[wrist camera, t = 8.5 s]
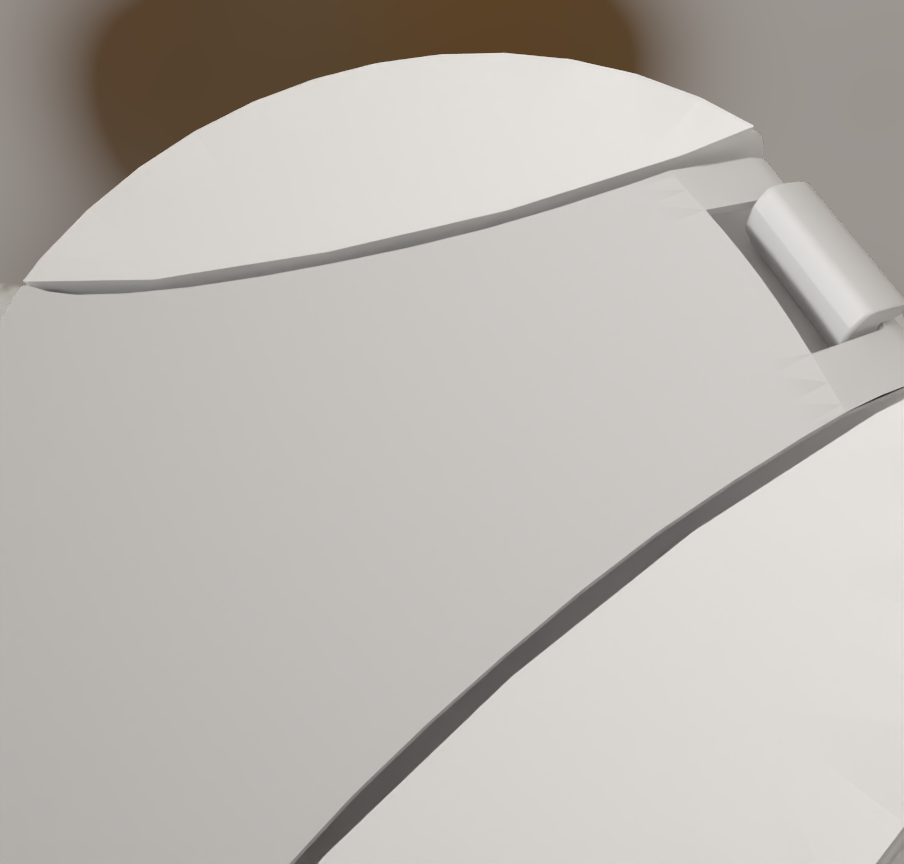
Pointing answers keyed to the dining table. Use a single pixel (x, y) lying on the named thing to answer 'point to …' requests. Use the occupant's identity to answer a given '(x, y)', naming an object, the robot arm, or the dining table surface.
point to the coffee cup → (454, 492)
